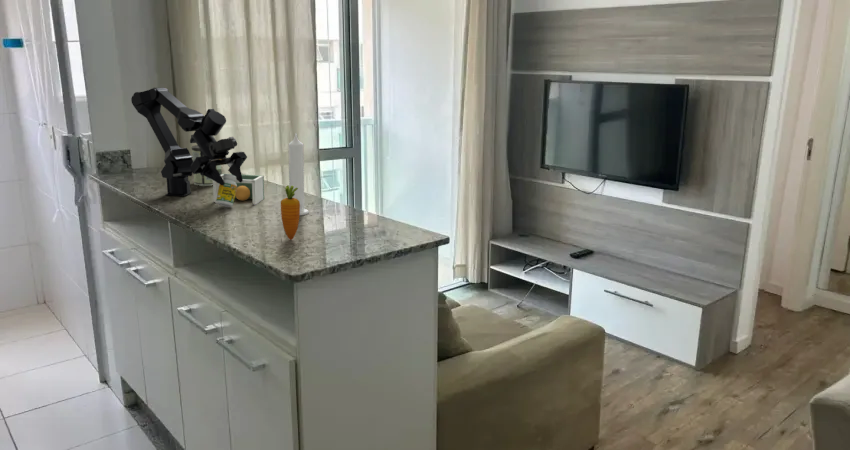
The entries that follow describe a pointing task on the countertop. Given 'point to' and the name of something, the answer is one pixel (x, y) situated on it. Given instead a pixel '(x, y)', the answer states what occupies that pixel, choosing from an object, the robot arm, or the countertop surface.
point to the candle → (297, 171)
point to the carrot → (290, 212)
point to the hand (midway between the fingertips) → (232, 183)
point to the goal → (251, 182)
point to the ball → (242, 193)
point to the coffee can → (199, 178)
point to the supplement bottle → (227, 191)
